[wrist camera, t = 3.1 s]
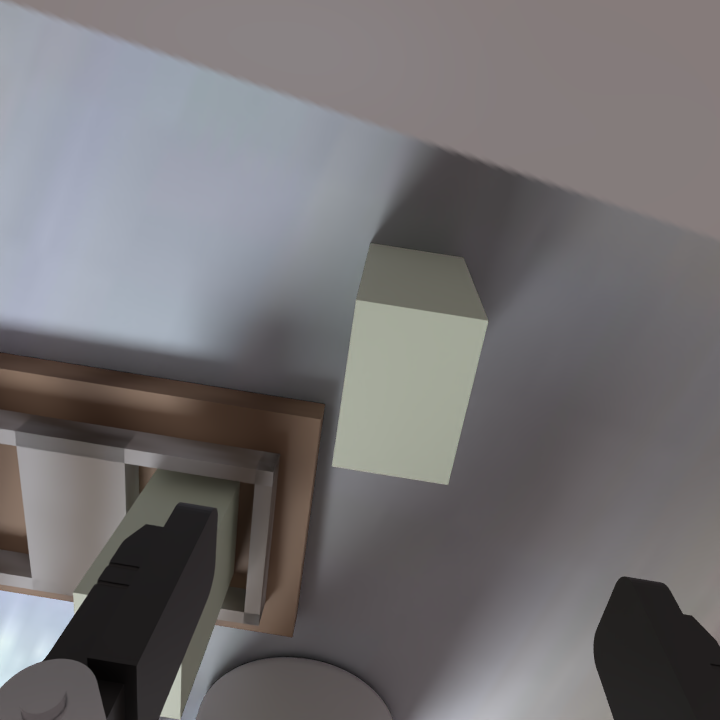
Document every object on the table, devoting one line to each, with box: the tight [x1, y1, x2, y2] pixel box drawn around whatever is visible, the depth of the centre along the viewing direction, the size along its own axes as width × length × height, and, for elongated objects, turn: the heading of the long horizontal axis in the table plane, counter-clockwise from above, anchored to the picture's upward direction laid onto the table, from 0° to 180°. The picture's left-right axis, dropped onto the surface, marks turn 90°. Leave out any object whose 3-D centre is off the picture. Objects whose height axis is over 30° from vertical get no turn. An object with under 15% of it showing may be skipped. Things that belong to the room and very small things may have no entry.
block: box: [73, 469, 240, 719], centre depth 26 cm, size 4×6×8 cm, turn 172°
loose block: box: [332, 243, 488, 485], centre depth 22 cm, size 4×6×8 cm, turn 172°
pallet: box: [0, 353, 325, 637], centre depth 29 cm, size 22×14×3 cm, turn 82°
